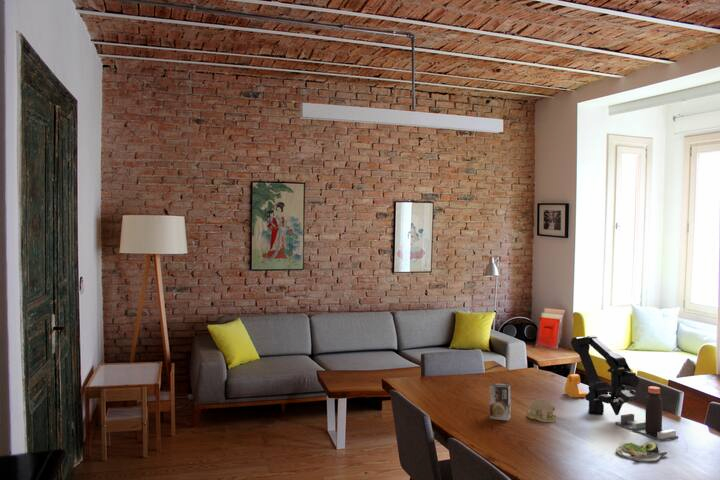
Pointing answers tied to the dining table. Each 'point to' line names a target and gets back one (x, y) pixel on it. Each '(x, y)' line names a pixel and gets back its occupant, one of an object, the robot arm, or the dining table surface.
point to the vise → (659, 436)
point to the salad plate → (641, 451)
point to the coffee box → (500, 401)
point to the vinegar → (653, 411)
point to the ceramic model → (542, 410)
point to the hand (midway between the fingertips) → (616, 415)
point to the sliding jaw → (632, 421)
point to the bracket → (573, 386)
